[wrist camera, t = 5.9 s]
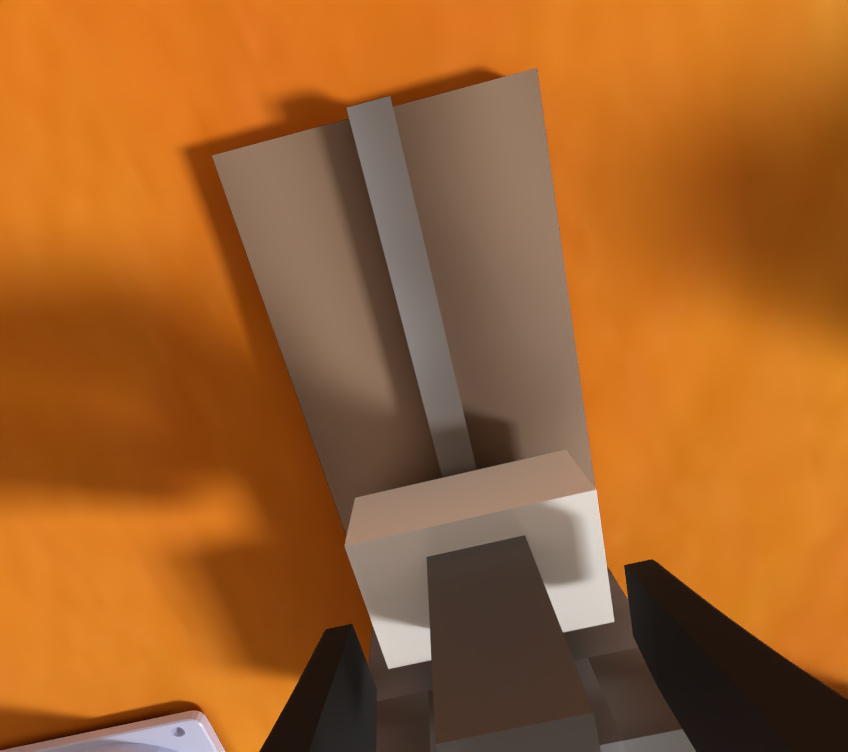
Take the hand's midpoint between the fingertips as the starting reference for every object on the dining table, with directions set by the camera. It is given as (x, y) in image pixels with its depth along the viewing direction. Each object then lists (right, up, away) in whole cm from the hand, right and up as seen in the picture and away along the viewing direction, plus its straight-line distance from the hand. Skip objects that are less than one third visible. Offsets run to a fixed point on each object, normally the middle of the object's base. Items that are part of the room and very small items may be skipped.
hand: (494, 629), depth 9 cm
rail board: (0, +3, +5) cm, 5 cm away
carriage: (0, +1, +3) cm, 3 cm away
